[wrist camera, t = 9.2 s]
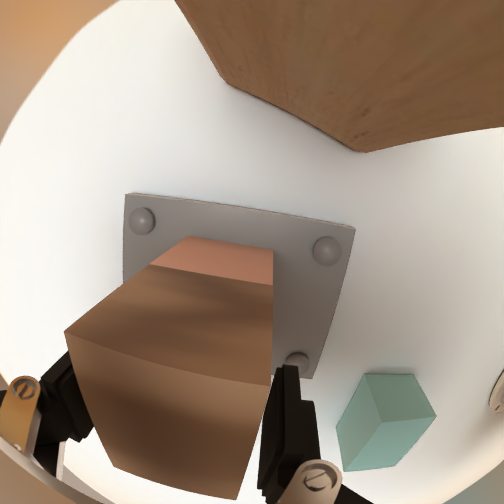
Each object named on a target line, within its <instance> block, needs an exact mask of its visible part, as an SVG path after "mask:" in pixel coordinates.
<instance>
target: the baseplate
mask: <svg viewBox="0 0 504 504" xmlns="http://www.w3.org/2000/svg"><path fill="white" fill-rule="evenodd" d="M355 231H356V229H355V228H353V227H352V226H347V225H342V224H337V223H332V222H327V221H322V220H316V219H311V218H305V217H300V216H294V215H288V214H283V213H277V212H271V211H265V210H258V209H252V208H246V207H239V206H232V205H226V204H219V203H212V202H204V201H197V200H189V199H181V198H173V197H165V196H157V195H148V194H138V193H129V194H125V207H124V226H123V284H124V283H125V282H126V281H128V280H129V279H130V278H132V277H133V276H134V275H136V274H137V273H138V272H140V271H141V270H142V269H144V268H145V267H146V266H148V265H149V264H152V265H157V266H163V267H168V268H173V269H179V270H184V271H190V272H196V273H201V274H207V275H213V276H219V277H224V278H230V279H236V280H242V281H249V282H255V283H261V284H268V285H274V291H273V330H272V361H271V375H275V371H276V368H277V367H280V368H282V365H283V364H286V365H294V366H298V369H299V378H306V379H312V378H313V375H314V372H315V370H316V367H317V364H318V361H319V358H320V356H321V353H322V350H323V347H324V344H325V341H326V338H327V335H328V332H329V328H330V325H331V322H332V319H333V316H334V312H335V309H336V305H337V302H338V299H339V295H340V291H341V288H342V284H343V280H344V277H345V273H346V269H347V265H348V261H349V257H350V253H351V248H352V244H353V240H354V235H355Z"/></svg>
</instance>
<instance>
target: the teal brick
mask: <svg viewBox="0 0 504 504" xmlns="http://www.w3.org/2000/svg"><path fill="white" fill-rule="evenodd" d="M435 418H436V414H435V412H434V410H433V408H432V406H431V405H430V403H429V401H428V399H427V397H426V396H425V394H424V392H423V390H422V389H421V387H420V385H419V383H418V382H417V380H416V378H415V377H414V375H413V374H364V375H363V377H362V379H361V381H360V383H359V385H358V387H357V389H356V391H355V393H354V395H353V397H352V399H351V401H350V403H349V405H348V406H347V408H346V410H345V412H344V414H343V416H342V417H341V419H340V421H339V423H338V424H337V426H336V430H337V436H338V441H339V447H340V452H341V458H342V464H343V471H344V472H349V471H361V470H370V469H378V468H386V467H392V466H395V465H396V464H397V463H398V462H399V461H400V460H401V459H402V458H403V456H404V455H405V454H406V453H407V452H408V451H409V450H410V449H411V448H412V446H413V445H414V444H415V443H416V442H417V441H418V439H419V438H420V437H421V436H422V434H423V433H424V432H425V431H426V429H427V428H428V427H429V426H430V424H431V423H432V422H433V420H434V419H435Z"/></svg>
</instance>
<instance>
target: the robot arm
mask: <svg viewBox="0 0 504 504" xmlns="http://www.w3.org/2000/svg"><path fill="white" fill-rule="evenodd" d="M489 405H490V408H491V409H492V411H493V412H494V413H500V412H503V411H504V372H503V373H502V375H501V377H500V378H499V380H498V382H497V384H496V386H495V387H494V390H493V392H492V394H491V398H490V403H489ZM93 427H94V424H93V422H92V420H91V417H90V415H89V412H88V410H87V407H86V404H85V402H84V399H83V396H82V393H81V391H80V388H79V385H78V382H77V378H76V375H75V372H74V369H73V365H72V362H71V358H70V354H69V351H67V352H66V353H65V354H64V355H63V356H62V357H61V358H60V359H59V360H58V361H57V362H56V363H55V364H54V365H53V366H52V367H51V368H50V369H49V370H48V371H47V372H46V373H45V374H44V375H43V376H42V377H41V380H40V381H39V382H38V381H37V380H36V379H35V378H33V377H30V376H20V377H18V378H16V379H14V380H13V381H12V382H11V384H10V385H9V388H8V390H2V391H0V504H103V503H100V502H98V501H96V500H94V499H92V498H90V497H88V496H86V495H84V494H83V493H80V492H79V491H77V490H75V489H74V488H72V487H70V486H68V485H67V484H65V483H63V482H62V472H63V461H64V451H65V443H66V441H67V439H68V438H71V439H73V440H75V441H77V442H78V443H80V441H81V440H82V438H87V436H88V435H89V433H90V432H91V430H92V429H93ZM257 489H261V490H262V496H265V497H266V501H265V502H266V503H267V504H373V503H372V502H370V501H368V500H367V499H365V498H363V497H362V496H360V495H358V494H357V493H355V492H354V491H352V490H350V489H349V488H347V487H346V486H344V485H343V484H342V475H341V472H340V470H339V469H338V467H336V466H335V465H334V464H333V463H331V462H328V461H326V460H321V456H320V447H319V438H318V430H317V421H316V413H315V406H314V402H313V401H308V400H301V391H300V380H299V369H298V366H294V365H286V364H283V365H282V368H280V367H277V368H276V371H275V375H274V379H273V382H272V386H271V389H270V393H269V396H268V400H267V403H266V407H265V410H264V414H263V421H262V434H261V447H260V459H259V470H258V481H257Z"/></svg>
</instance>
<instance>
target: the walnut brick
mask: <svg viewBox="0 0 504 504" xmlns="http://www.w3.org/2000/svg"><path fill="white" fill-rule="evenodd" d="M273 291H274V285H268V284H261V283H255V282H249V281H242V280H236V279H230V278H224V277H219V276H213V275H207V274H201V273H196V272H190V271H184V270H179V269H173V268H168V267H163V266H157V265H152V264H149V265H148V266H146V267H145V268H144V269H142V270H141V271H140V272H138V273H137V274H136V275H134V276H133V277H132V278H130V279H129V280H128V281H126V282H125V283H124V284H122V285H121V286H120V287H118V288H117V289H116V290H115V291H113V292H112V293H111V294H109V295H108V296H107V297H106V298H104V299H103V300H102V301H100V302H99V303H98V304H97V305H95V306H94V307H93V308H92V309H90V310H89V311H88V312H87V313H85V314H84V315H83V316H82V317H81V318H79V319H78V320H77V321H76V322H74V323H73V324H72V325H71V326H70V327H68V328H67V329H66V330H65V331H64V334H65V338H66V343H67V347H68V351H69V354H70V358H71V362H72V365H73V369H74V372H75V375H76V378H77V382H78V385H79V388H80V391H81V393H82V396H83V399H84V402H85V404H86V407H87V410H88V412H89V415H90V417H91V420H92V422H93V424H94V427H95V429H96V431H97V434H98V436H99V438H100V440H101V442H102V445H103V447H104V449H105V451H106V453H107V455H108V457H109V459H110V461H111V462H112V464H113V466H114V467H116V468H118V469H121V470H123V471H126V472H128V473H131V474H133V475H136V476H139V477H142V478H145V479H147V480H150V481H154V482H157V483H160V484H163V485H167V486H170V487H174V488H177V489H181V490H185V491H189V492H193V493H198V494H203V495H208V496H213V497H218V498H224V499H231V500H236V499H237V496H238V493H239V490H240V487H241V484H242V481H243V478H244V475H245V472H246V469H247V466H248V463H249V459H250V456H251V453H252V450H253V446H254V443H255V440H256V436H257V433H258V430H259V426H260V423H261V419H262V416H263V412H264V408H265V405H266V401H267V397H268V394H269V390H270V386H271V361H272V330H273Z"/></svg>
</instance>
